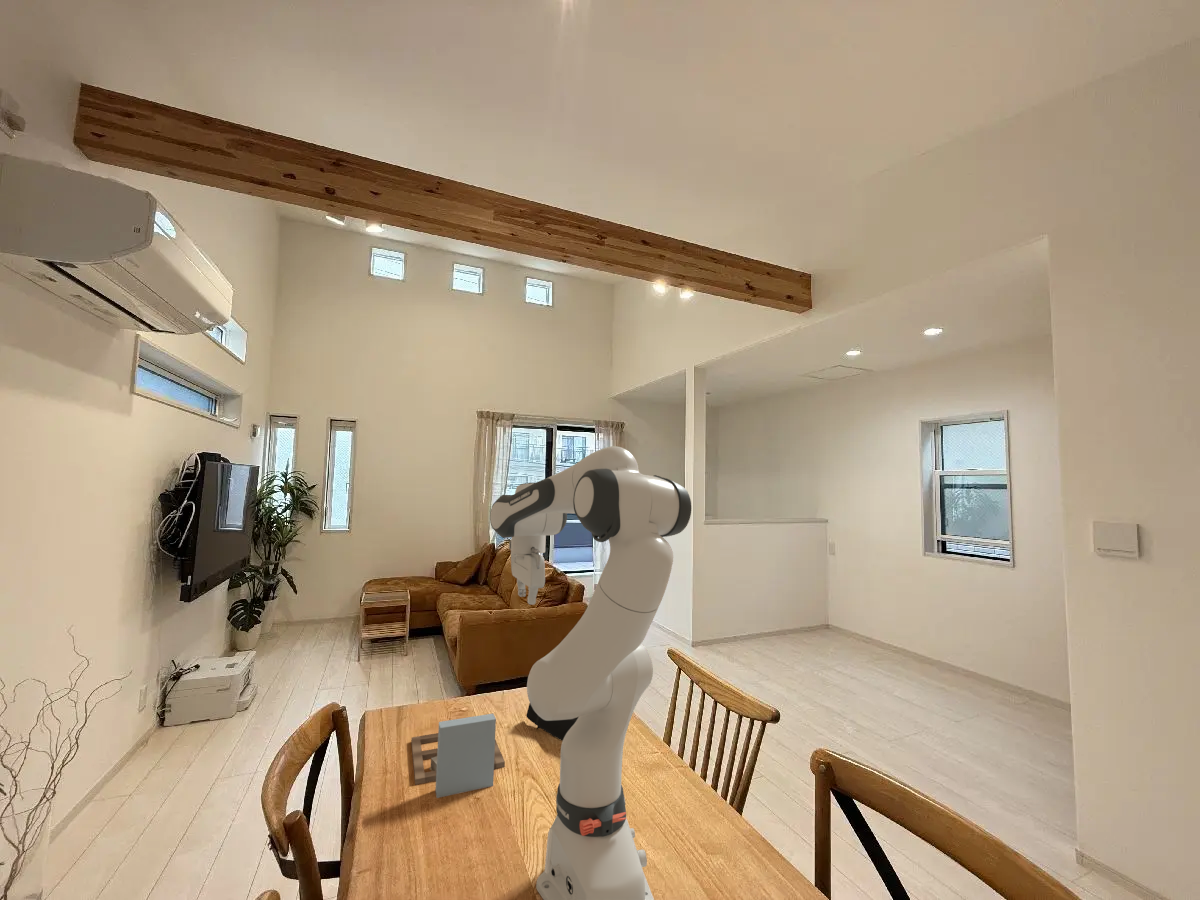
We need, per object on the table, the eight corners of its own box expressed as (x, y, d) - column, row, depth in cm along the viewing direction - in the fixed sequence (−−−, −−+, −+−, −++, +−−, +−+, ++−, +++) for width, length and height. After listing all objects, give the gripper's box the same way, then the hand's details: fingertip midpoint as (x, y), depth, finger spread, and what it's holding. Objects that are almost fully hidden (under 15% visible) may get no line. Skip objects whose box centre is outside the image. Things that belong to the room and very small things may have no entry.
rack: (504, 772, 116) (504, 761, 116) (414, 791, 108) (415, 779, 108) (488, 734, 134) (489, 724, 134) (411, 747, 126) (411, 737, 126)
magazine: (630, 722, 124) (546, 662, 141) (623, 727, 121) (538, 665, 138) (612, 783, 125) (531, 717, 142) (605, 790, 122) (523, 721, 140)
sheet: (493, 789, 108) (495, 719, 110) (436, 801, 104) (440, 728, 105) (490, 781, 111) (493, 713, 112) (435, 793, 106) (438, 721, 108)
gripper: (552, 549, 118) (550, 608, 117) (530, 541, 137) (528, 591, 135) (527, 550, 115) (524, 610, 114) (507, 541, 134) (505, 593, 133)
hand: (526, 600), depth 125 cm, fingers open, 8 cm apart
